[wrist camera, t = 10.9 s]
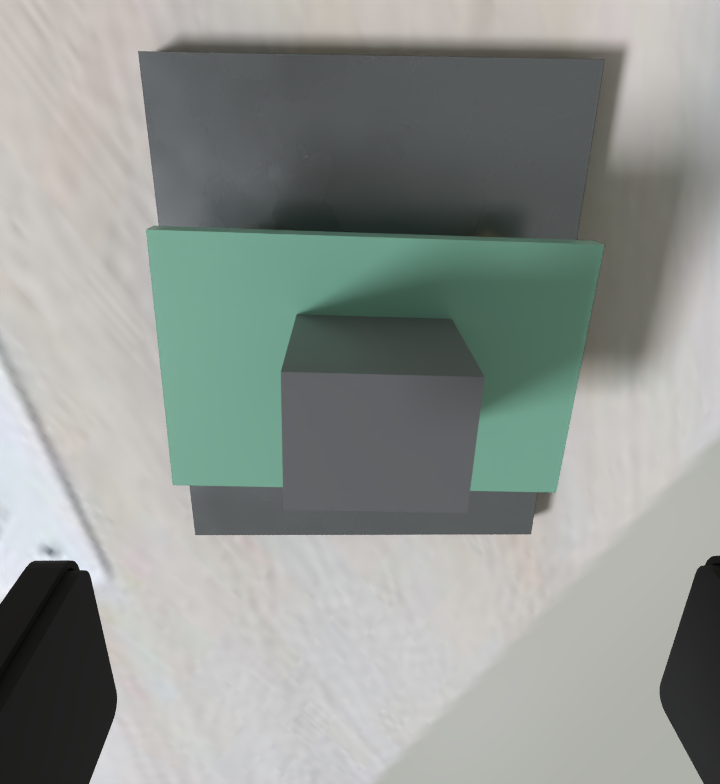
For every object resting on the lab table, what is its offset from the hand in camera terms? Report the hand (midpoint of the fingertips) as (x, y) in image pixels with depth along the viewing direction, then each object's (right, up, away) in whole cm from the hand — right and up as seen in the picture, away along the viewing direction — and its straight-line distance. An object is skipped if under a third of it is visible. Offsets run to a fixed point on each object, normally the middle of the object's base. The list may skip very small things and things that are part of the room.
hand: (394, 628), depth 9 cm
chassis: (0, +7, +16) cm, 17 cm away
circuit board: (0, +5, +11) cm, 12 cm away
